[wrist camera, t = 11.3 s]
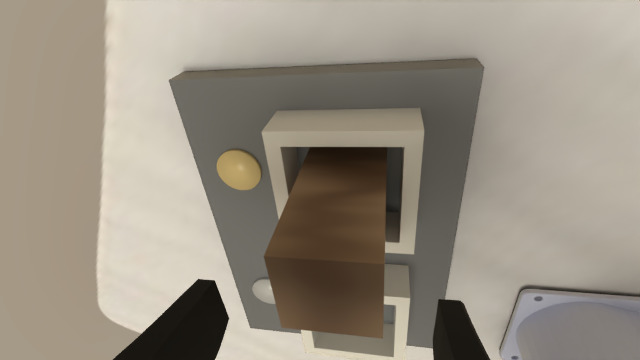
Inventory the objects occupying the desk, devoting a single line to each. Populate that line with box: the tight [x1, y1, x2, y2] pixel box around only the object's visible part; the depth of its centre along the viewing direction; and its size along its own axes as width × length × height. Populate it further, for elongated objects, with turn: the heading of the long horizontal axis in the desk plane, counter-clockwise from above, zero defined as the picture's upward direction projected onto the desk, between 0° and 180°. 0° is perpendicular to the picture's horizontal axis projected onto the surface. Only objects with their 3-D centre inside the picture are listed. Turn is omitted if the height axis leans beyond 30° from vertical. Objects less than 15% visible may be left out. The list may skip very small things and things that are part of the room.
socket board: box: [169, 59, 484, 360], centre depth 21 cm, size 15×21×4 cm
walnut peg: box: [264, 147, 387, 339], centre depth 15 cm, size 4×4×8 cm
